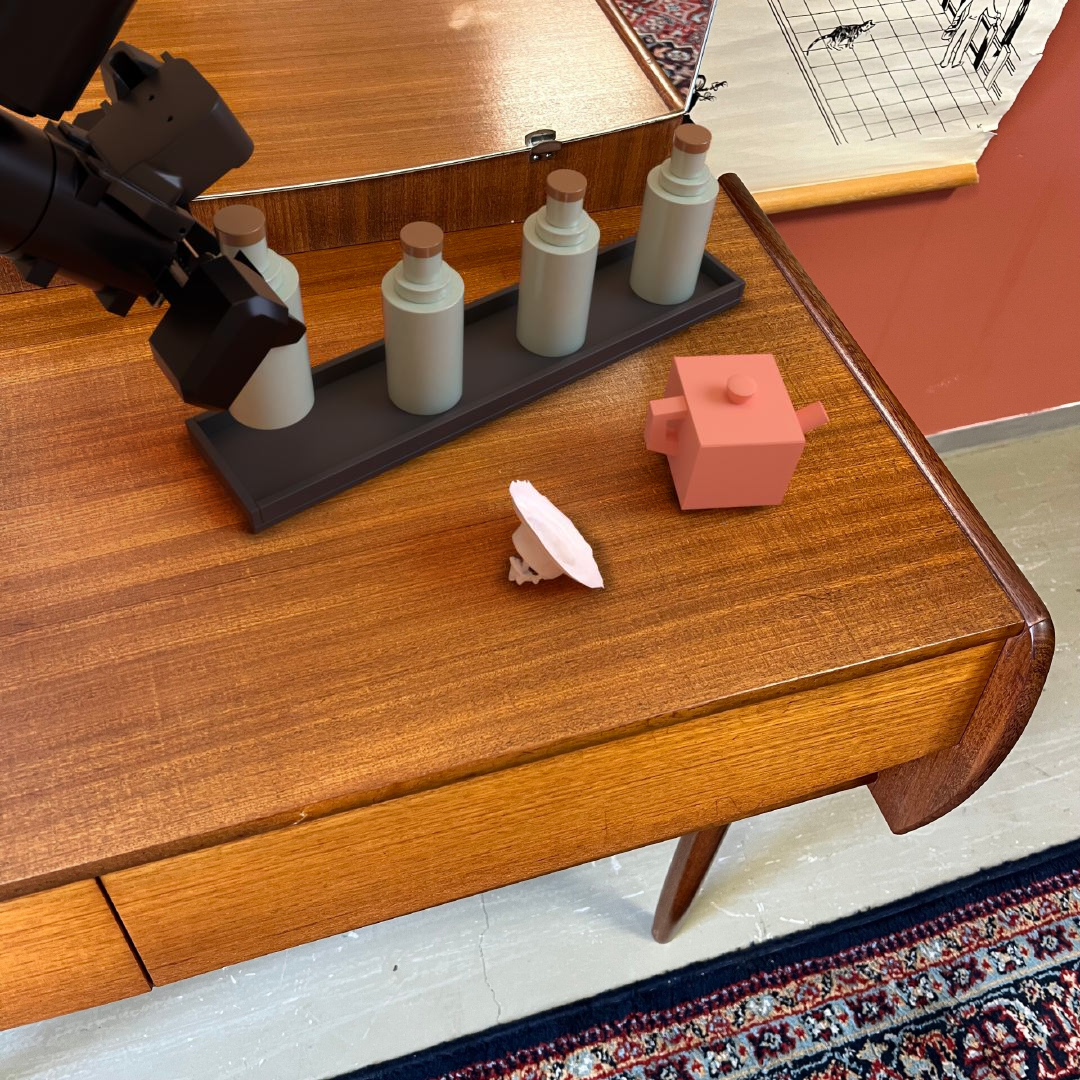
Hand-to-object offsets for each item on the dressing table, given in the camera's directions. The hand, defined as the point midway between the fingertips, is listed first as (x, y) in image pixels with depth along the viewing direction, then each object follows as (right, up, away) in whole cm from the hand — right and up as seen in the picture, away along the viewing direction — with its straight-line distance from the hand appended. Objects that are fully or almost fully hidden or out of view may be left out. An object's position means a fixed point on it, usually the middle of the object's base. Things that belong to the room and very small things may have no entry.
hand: (278, 306), depth 57 cm
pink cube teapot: (+27, -9, +12) cm, 31 cm away
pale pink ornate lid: (+15, -15, +6) cm, 22 cm away
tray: (+11, -1, +16) cm, 20 cm away
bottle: (-2, -5, +5) cm, 7 cm away
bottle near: (+7, -3, +13) cm, 15 cm away
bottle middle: (+16, +2, +18) cm, 24 cm away
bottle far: (+24, +7, +22) cm, 34 cm away
